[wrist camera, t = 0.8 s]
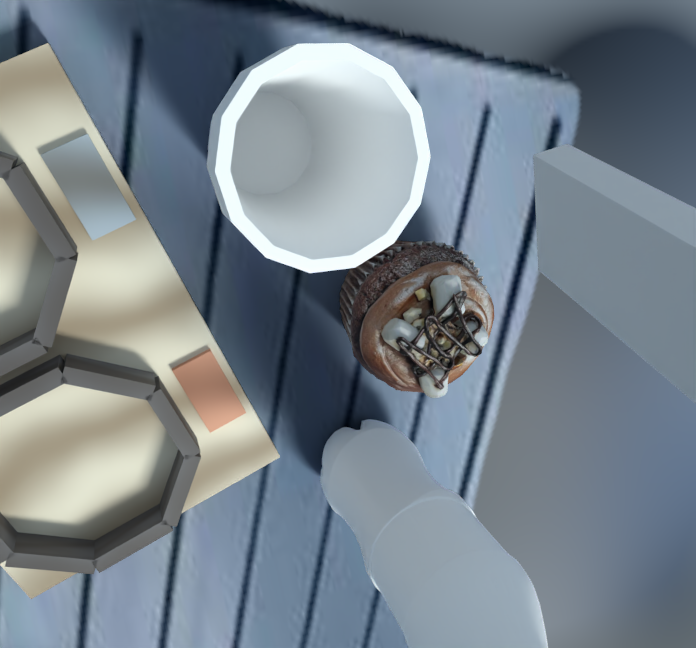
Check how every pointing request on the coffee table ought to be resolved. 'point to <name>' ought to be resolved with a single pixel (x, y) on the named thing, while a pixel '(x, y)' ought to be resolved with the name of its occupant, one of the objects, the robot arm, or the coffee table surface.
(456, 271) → the cupcake
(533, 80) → the coffee table surface
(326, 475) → the water bottle
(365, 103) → the foam cup
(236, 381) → the socket board
